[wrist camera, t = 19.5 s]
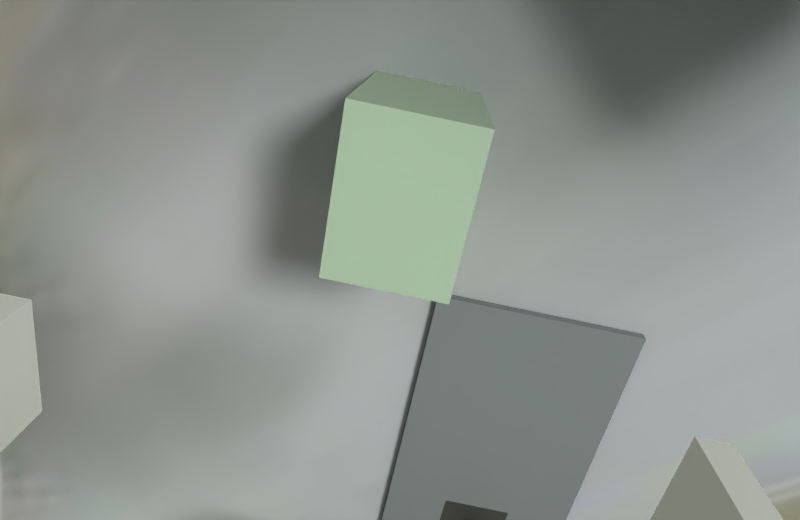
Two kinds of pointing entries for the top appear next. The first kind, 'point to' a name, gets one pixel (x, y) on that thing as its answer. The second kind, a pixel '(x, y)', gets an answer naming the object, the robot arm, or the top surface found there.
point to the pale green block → (405, 186)
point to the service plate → (506, 413)
